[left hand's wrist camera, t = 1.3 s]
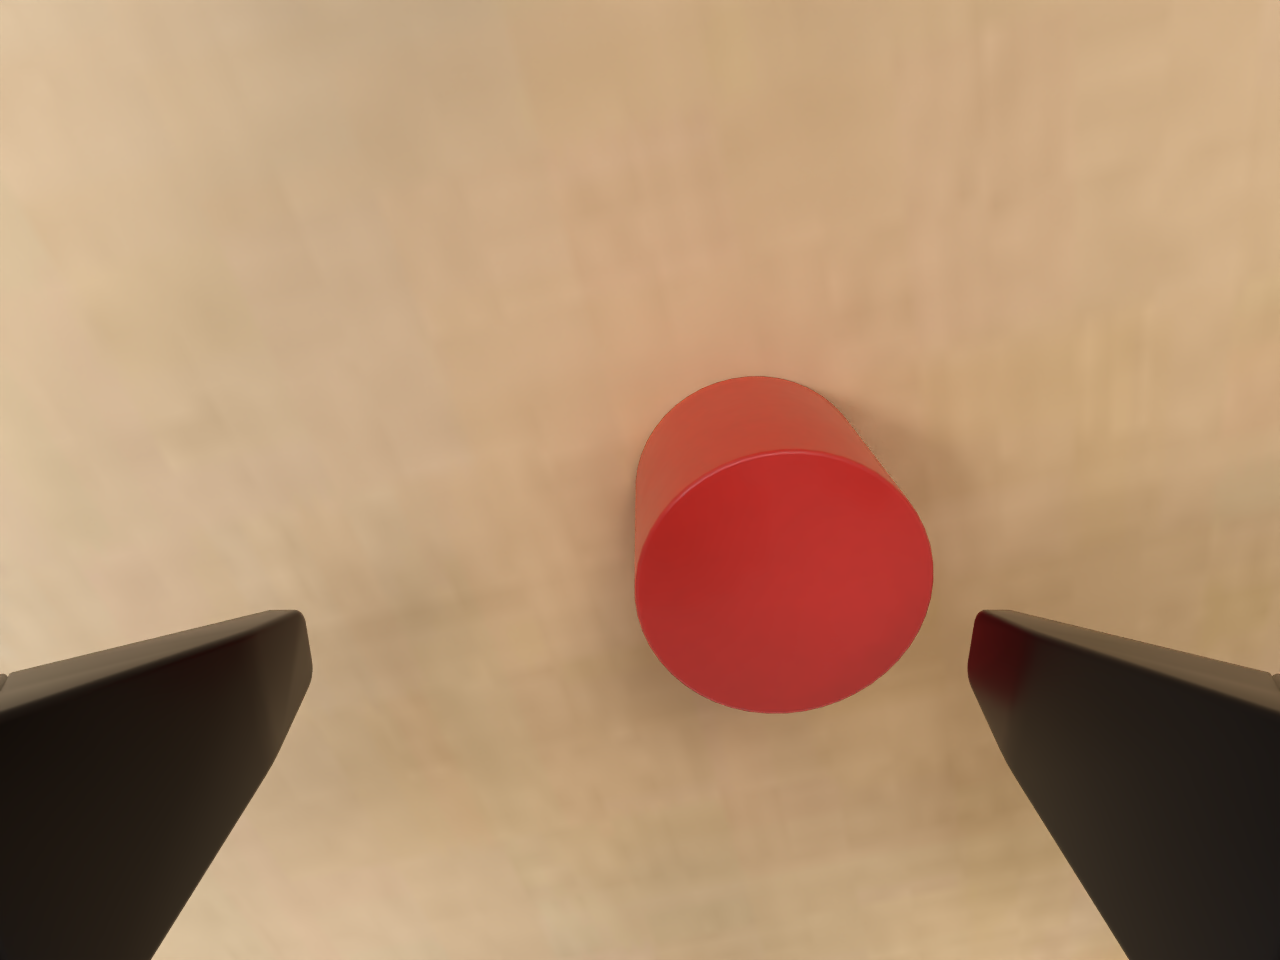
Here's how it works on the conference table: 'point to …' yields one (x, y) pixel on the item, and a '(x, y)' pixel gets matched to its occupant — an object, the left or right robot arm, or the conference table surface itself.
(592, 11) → the conference table surface
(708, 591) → the canister
